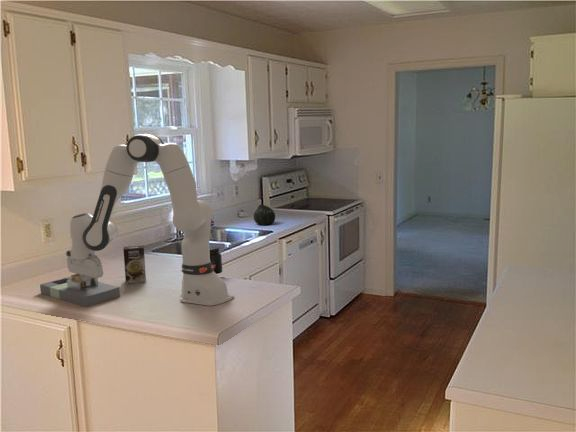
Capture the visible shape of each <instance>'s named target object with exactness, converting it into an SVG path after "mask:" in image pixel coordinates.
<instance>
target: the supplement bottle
mask: <svg viewBox="0 0 576 432" xmlns="http://www.w3.org/2000/svg"><path fill="white" fill-rule="evenodd" d="M209 250H210V261H211V263H212V265H215V266H213V267H215V268H213V269H214V272H215V273H216V274H217V275H219V274H221V273H222V272H223V260H222V254H221V253H220V248H219V247H217V246H214V247H213V246H211V247H209Z"/></svg>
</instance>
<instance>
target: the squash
mask: <svg viewBox="0 0 576 432" xmlns="http://www.w3.org/2000/svg"><path fill="white" fill-rule="evenodd" d="M253 220H254V222H255V223H256V224H258V225H259V226H266V225H272V224H274V222H275V220H276V214H275V211H274V210H273V209H272V208H271V207H269V206H267V205H264V204H259V205H258V206H257V209H256V210H255V212H254V214H253Z"/></svg>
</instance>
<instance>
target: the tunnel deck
mask: <svg viewBox="0 0 576 432" xmlns="http://www.w3.org/2000/svg"><path fill="white" fill-rule="evenodd" d="M39 284H40V283H39ZM39 289H40V294H42V295H45V296H48V297H52V298H55V299H58V300H61V301H65V302H68V303H71V304H74V305H76V306H77V305H79V306H81V307H83V308H84V307H85V308H87V307H92V306H94V305H97V304H100V303H104V302H107V301H110V300H114V299H117V298H120V297H121V289H120V286H117V285H112V284H108V283H104V282H100V281H99V278H91V281H90V285H89V286H85V287H82V288H81V287H80V282H77V281H74V280H71V275H70V276H66V277H63V278H59V279H55V280H51V281H47V282H44V283H41V284H40V285H39Z"/></svg>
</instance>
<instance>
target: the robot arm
mask: <svg viewBox="0 0 576 432" xmlns="http://www.w3.org/2000/svg"><path fill="white" fill-rule="evenodd" d="M152 162H155V163H157V164H158V166H159V167H160V170H161V173H162V175H163V178H164V181H165V183H166V187H167V189H168V192H169V195H170V200H171V205H172V206H171V207H172V224H173V226H174V228H175V229H176V230H177V231H179V232H182V233H184V234H183V238H182V239H183V240H182V241H181V256H182V257H181V258H182V263H181V272H182V273H183V274H182V280H181V293H180V294H181V295H180V298H179V300H180V301H179V302H182V303H187V304H188V303H189V304H195V305H201V306H202V305H203V306H209V307H211V306H216V305H221V304H223V303H227V302H228V301H230V300H232V299H233V298H234V294H233V293H230V292H229V291H228V286H227V283H226V282H225V281H224V279H222V278H221V277H220V276H219V274H216V273H215V272H214V269H213V268H215V267H213V266H215V265H212V263H211V261H210V250H209V248H210V239H211V237H210V236H211V228H212V218H213V215H214V210H213V207H212V205H211V204H210V203H209V202H207V201H206V200H201V199H200V200H199V199H198V195H197V194H198V192H197V182H196V180H195V177H194V175H193V171H192V169H191V166H190V164H189V161H188V159H187V157H186V155H185V153H184V151H183V150H182V148H181V147H180V145H179V144H178V143H175V142H174V143H173V142H168V143H164V142H163V139H161V138H160V137H159V136H157V135H151V134H148V133H144V134H142V133H141V134H140V133H139V134H134V135H133V136H132V137H130V139H128V141H127V142H126V145H125V144H118V145H116V146H114V147H113V148H112V150H111V152H110V154H109V156H108V159H107V161H106V165H105V169H104V172H103V176H102V182H101V187H100V191H99V196H98V198H97V203H96V205H95V208H94V211H93V214H91V213H88V212H86V213H85V212H84V213H79V214H77V215H74V216H73V217H71V219H70V222H69V223H70V225H69V231H70V232H69V233H70V239H71V249H68V250H66V251H65V255H66V263H67V269H68V271H69V272H70V273H73V274H80V277H81V279H82V281H83V285H86V286H89V285H90V281H91V278H98V279H99V278H102V277H103V275H104V270H103V265H102V260H101V259H100V257H98V255H96V252H98V251H102V250H104V249H105V248H106V247H107V246H108V245H109V244H111V243H112V242H113V241H114V240H115V239H116V237H117V236H118V228H117V226H116V224H115V223H114V222H112V221H110V220H111V217H112V213H113V210H114V207H115V205H116V204H117V202H118V201H119V200H120V199H121V198H122V197H123V196H124V195H125V194H126V193H127V192H128V190H129V188H130V186H131V183H132V181H133V179H134V178H133V177H134V174H135V170H136V167H137V166H138V164H139V163H152Z"/></svg>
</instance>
